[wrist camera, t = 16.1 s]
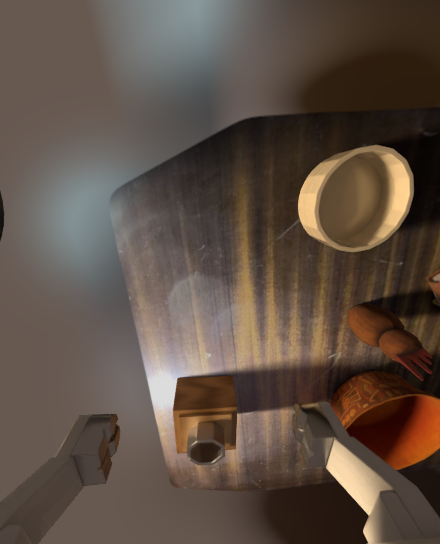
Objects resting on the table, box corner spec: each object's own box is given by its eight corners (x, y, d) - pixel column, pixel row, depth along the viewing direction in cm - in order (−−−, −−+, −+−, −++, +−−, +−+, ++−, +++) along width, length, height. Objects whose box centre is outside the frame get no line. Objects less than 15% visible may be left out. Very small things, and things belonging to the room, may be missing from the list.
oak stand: (180, 417, 48) (176, 453, 41) (177, 378, 44) (172, 410, 37) (231, 414, 48) (235, 449, 42) (232, 375, 45) (237, 407, 38)
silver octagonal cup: (189, 447, 40) (188, 466, 37) (187, 422, 38) (186, 441, 35) (223, 444, 40) (224, 463, 38) (223, 420, 38) (225, 438, 35)
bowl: (360, 436, 54) (393, 487, 44) (294, 405, 49) (315, 456, 39) (427, 378, 48) (480, 422, 39) (361, 336, 43) (404, 377, 34)
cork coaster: (182, 449, 41) (181, 452, 40) (179, 414, 38) (178, 417, 37) (230, 446, 41) (230, 449, 41) (231, 411, 38) (231, 414, 38)
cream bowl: (293, 244, 36) (308, 253, 31) (304, 151, 31) (323, 143, 26) (370, 243, 37) (397, 251, 32) (392, 152, 32) (428, 145, 27)
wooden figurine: (337, 326, 42) (404, 393, 28) (345, 298, 40) (420, 356, 26) (371, 326, 43) (453, 392, 29) (380, 299, 41) (472, 356, 27)
